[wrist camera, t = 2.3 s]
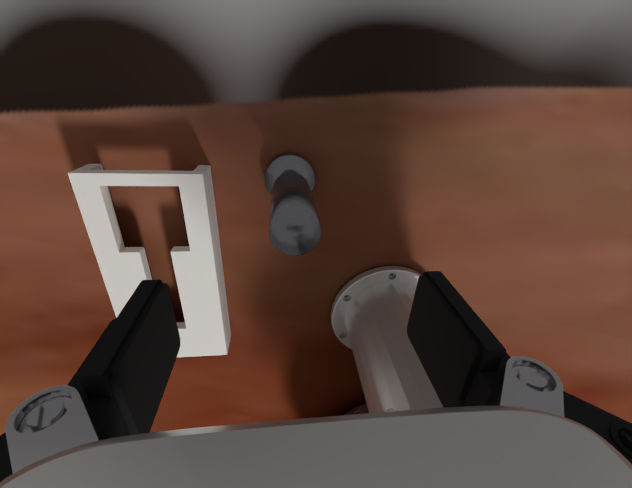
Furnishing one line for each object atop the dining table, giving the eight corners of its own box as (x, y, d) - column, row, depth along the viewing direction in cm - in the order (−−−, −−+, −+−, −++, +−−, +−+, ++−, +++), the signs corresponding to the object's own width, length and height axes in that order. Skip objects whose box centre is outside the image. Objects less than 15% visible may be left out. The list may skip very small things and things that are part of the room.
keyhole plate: (231, 334, 37) (227, 354, 34) (141, 338, 36) (130, 359, 33) (210, 165, 27) (202, 174, 25) (88, 163, 26) (67, 172, 24)
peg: (312, 199, 30) (330, 264, 19) (266, 199, 29) (259, 266, 19) (314, 152, 28) (335, 197, 17) (264, 152, 27) (254, 197, 17)
